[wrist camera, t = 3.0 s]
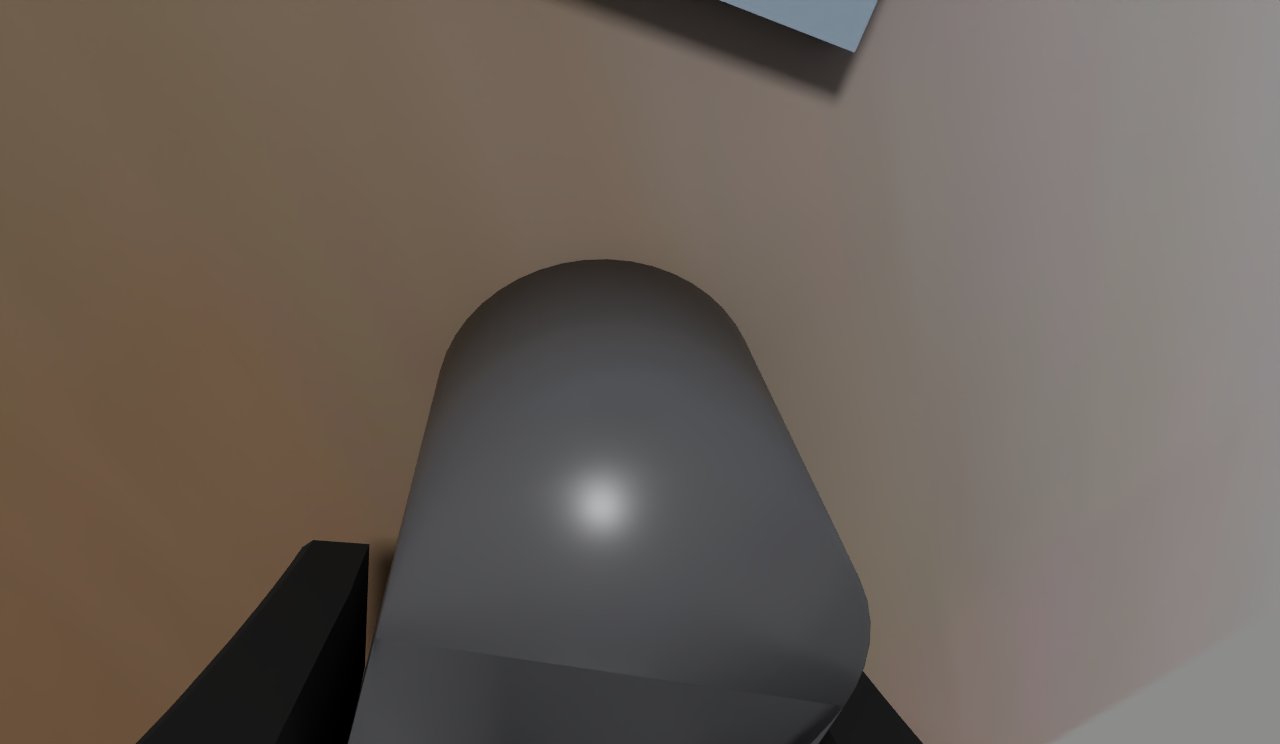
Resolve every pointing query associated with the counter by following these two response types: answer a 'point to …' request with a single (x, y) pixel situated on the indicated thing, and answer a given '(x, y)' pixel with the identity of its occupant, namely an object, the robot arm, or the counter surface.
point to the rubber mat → (817, 17)
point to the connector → (610, 536)
